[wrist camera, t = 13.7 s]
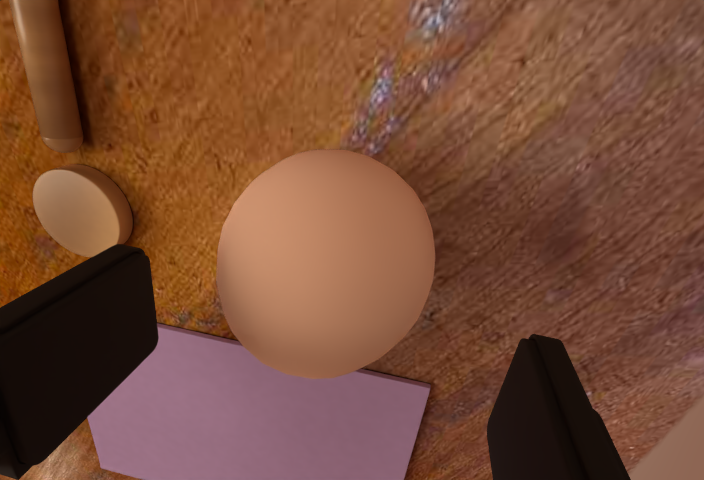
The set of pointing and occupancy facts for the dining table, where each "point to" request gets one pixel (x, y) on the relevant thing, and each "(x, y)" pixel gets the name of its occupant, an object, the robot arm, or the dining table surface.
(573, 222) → the dining table surface
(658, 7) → the dining table surface
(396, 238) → the egg
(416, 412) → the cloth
